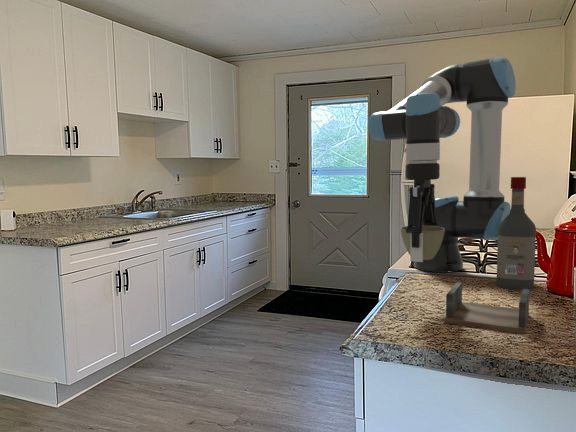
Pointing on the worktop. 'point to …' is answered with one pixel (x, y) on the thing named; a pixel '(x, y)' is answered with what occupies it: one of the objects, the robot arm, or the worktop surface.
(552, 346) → the worktop surface
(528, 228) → the liquor
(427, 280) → the worktop surface
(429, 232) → the flower pot
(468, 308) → the cradle
